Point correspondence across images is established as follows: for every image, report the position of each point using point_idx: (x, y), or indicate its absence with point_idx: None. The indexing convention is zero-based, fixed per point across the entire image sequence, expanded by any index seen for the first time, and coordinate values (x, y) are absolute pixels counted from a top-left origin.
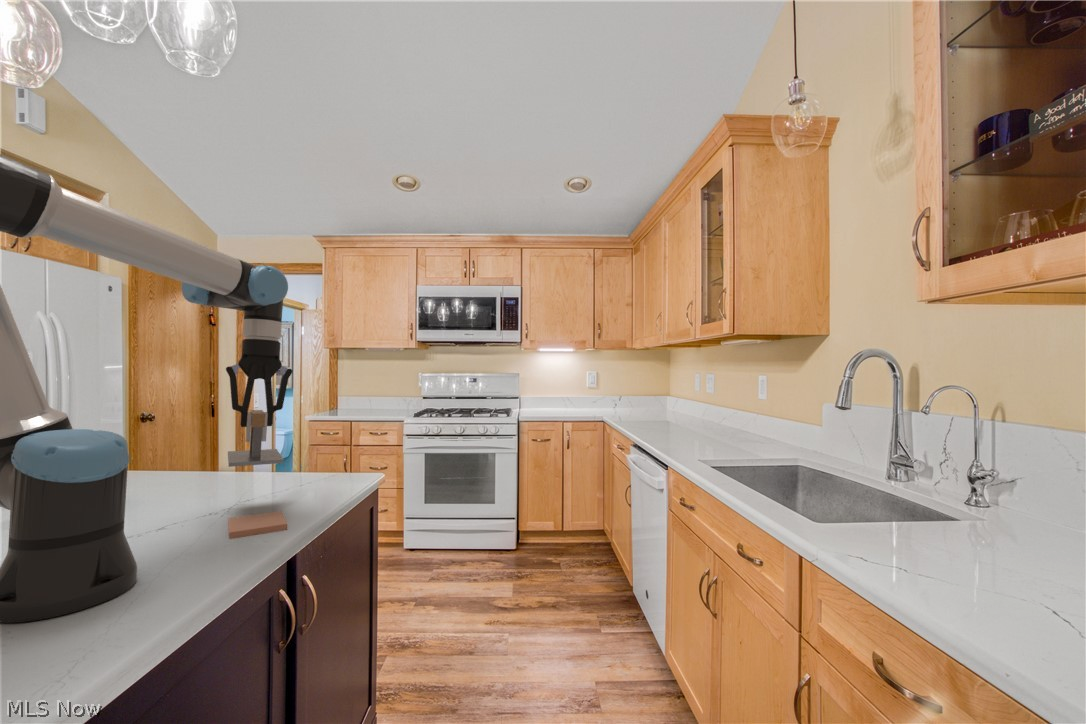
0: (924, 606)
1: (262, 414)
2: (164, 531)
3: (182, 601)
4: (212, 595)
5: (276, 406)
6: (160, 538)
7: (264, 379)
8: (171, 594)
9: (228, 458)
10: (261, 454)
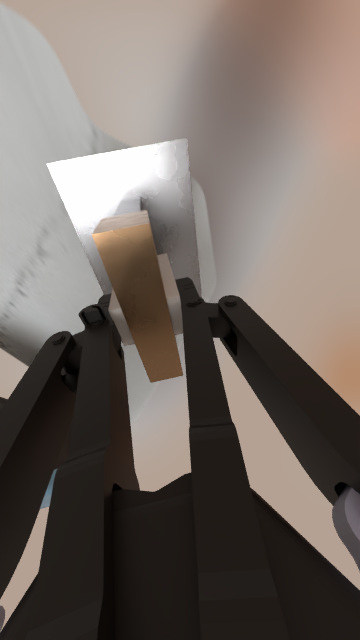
0: None
1: (175, 374)
2: (53, 265)
3: (143, 388)
4: (156, 386)
5: (220, 334)
6: (65, 290)
7: (194, 467)
8: (134, 382)
9: (102, 290)
10: (158, 250)
